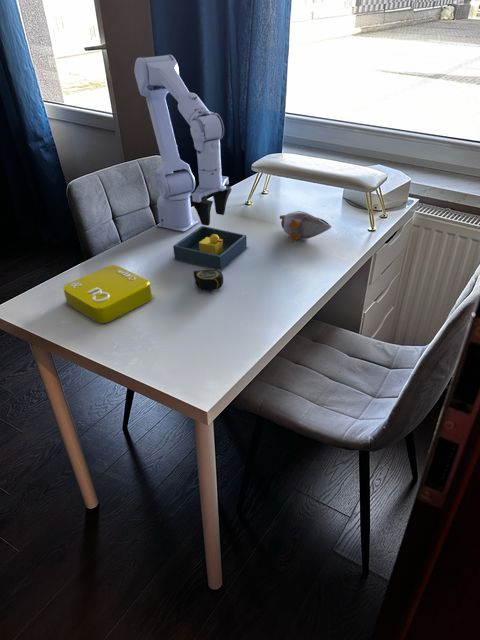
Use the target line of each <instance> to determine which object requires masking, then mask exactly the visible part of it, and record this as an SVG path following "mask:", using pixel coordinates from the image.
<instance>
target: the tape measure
mask: <svg viewBox="0 0 480 640" xmlns="http://www.w3.org/2000/svg"><path fill="white" fill-rule="evenodd" d="M193 279H194V283H195V286H196V287H197V288H198V290H201V291H205V292H211V291H212V292H213V291H216V290H219V289H220V288H222V286H223V285H224V273H223V272H222V270H220V269H212V268H206V269H196V270H194V271H193Z"/></svg>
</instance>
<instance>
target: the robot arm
mask: <svg viewBox="0 0 480 640" xmlns="http://www.w3.org/2000/svg"><path fill="white" fill-rule="evenodd" d="M133 72H134V77H135V80H136V84H137V88H138V91H139V94H140V96H142V97H145V100H146V104H147V109H148V112H149V116H150V120H151V123H152V127H153V131H154V135H155V139H156V143H157V147H158V151H159V155H160V159H161V163H160V165H159V166H158V167H157V169H156V170H155V171H154V173H155V180H156V182H155V183H156V189H157V191H158V194H159V196H158V198H157V201H156V210H157V216H158V222H159V223H157V226H158V227H159V228H164V229H169V230H173V231H177V232H183V233H184V232H186V231H188V230H189V229H191V228H192V227H194V226H195V225H196V224H198V223H199V222H200V224H201V226H206V227H209V226H210V223H211V210H212V206H213V204H214V209H215V213H216V215H220V216H225V213H226V208H227V202H228V199H229V196H230V194H231V192H232V187H231V186H228V185H229V183H230V182H229V176H225V175H222V158H221V140H222V139H223V138H224V136H225V125H224V122H223V119H222V117H221V116H220V114H219V113H217V112H213V111H210V110H209V109H208V108H207V106H206V105H205V103H204V102H203V101H202V100H201V98H200V97H199V96H198V95H197V94H196V93H194V92H190V91H189V89H188V87H187V86H186V85H185V83H184V81H183V79H182V78H181V76H180V70H179V65H178V62H177V60H176V58H175V57H174V56H173V55H172V54H165V55H158V56H147V57H141V56H140V57H137V58H136V60H135V63H134V69H133ZM168 94H170V95H171V96H172V97H173V98H174V99H175V101H177V110H178V111H179V113H180V114H181V116H182V117H183V118H184V120H185V121H186V123H187V124H188V125H189V127H190V128H189V130H190V136H191V137H192V140H193V147H194V149H195V151H196V158H197V170H198V172H197V173H198V183H199V184H198V186H197V187H196V180H195V176H194V175H193V172H192V170H191V167H190V164H188V163H187V162H186V161H184V160H182V159H181V157H180V154H179V150H178V145H177V142H176V137H175V133H174V129H173V125H172V121H171V117H170V112H169V109H168V104H167V100H166V97H167V95H168ZM195 188H196V189H195ZM211 194H212V197H213V200H209V199H208V198H207V197H208V196H210V195H211ZM192 206H193V208H194V210H195V211H196V213H197V216H198V218H199V220H196V219H193V215H192Z"/></svg>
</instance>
